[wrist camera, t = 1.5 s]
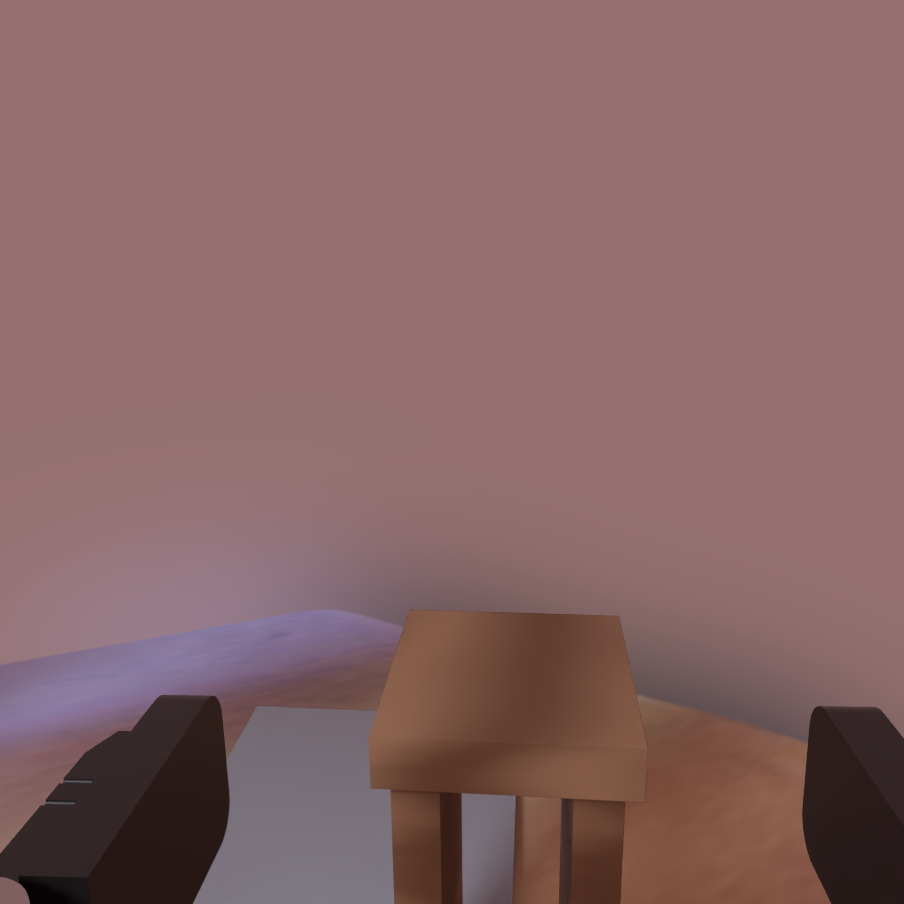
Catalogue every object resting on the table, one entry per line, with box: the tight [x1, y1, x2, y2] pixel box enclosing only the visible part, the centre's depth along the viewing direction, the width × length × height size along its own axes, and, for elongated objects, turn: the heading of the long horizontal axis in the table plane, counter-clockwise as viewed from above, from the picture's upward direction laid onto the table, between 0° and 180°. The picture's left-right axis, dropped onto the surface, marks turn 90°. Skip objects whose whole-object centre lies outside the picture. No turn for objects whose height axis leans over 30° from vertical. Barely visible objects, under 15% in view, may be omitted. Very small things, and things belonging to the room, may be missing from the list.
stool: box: [368, 610, 648, 904], centre depth 25 cm, size 6×7×14 cm
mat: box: [193, 706, 516, 904], centre depth 39 cm, size 14×14×1 cm
